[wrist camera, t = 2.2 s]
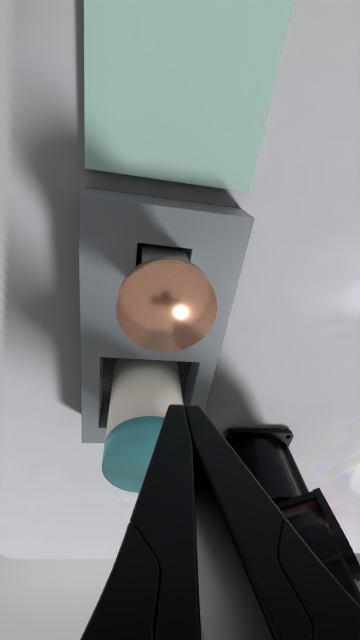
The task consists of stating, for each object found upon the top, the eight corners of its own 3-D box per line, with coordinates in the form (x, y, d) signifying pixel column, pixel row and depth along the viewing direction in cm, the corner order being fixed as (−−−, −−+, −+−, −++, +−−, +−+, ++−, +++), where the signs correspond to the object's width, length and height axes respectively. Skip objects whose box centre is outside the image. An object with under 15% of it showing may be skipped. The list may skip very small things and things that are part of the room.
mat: (289, 5, 14) (293, 1, 14) (245, 191, 18) (248, 192, 18) (85, -47, 13) (83, -54, 12) (86, 167, 17) (84, 168, 16)
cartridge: (182, 349, 24) (198, 437, 17) (173, 398, 26) (184, 492, 19) (115, 345, 23) (103, 435, 16) (112, 395, 25) (100, 493, 18)
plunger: (204, 232, 18) (227, 269, 13) (191, 301, 20) (207, 354, 15) (125, 223, 17) (118, 257, 12) (121, 295, 19) (113, 349, 14)
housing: (241, 208, 19) (254, 218, 17) (192, 420, 28) (196, 444, 25) (86, 187, 17) (78, 194, 15) (87, 417, 26) (81, 442, 24)
